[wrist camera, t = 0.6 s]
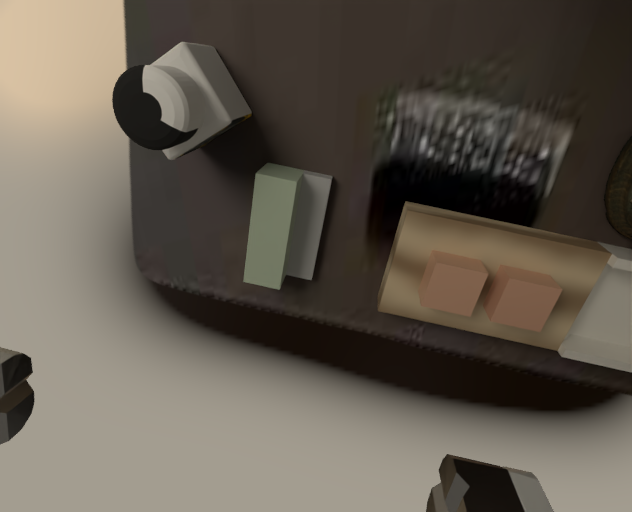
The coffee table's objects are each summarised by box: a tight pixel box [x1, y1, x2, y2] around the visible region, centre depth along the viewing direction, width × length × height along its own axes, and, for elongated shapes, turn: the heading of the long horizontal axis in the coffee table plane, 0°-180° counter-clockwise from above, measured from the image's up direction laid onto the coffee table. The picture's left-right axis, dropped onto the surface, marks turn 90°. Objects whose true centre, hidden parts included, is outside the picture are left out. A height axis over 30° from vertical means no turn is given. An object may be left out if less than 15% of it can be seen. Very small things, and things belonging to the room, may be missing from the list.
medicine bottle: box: [112, 42, 252, 160], centre depth 35 cm, size 7×7×12 cm
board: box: [378, 201, 612, 351], centre depth 43 cm, size 12×20×3 cm, turn 80°
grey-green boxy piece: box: [243, 163, 333, 290], centre depth 43 cm, size 12×7×5 cm, turn 170°
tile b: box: [483, 264, 562, 332], centre depth 40 cm, size 5×5×3 cm
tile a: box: [418, 250, 488, 317], centre depth 40 cm, size 5×5×3 cm
